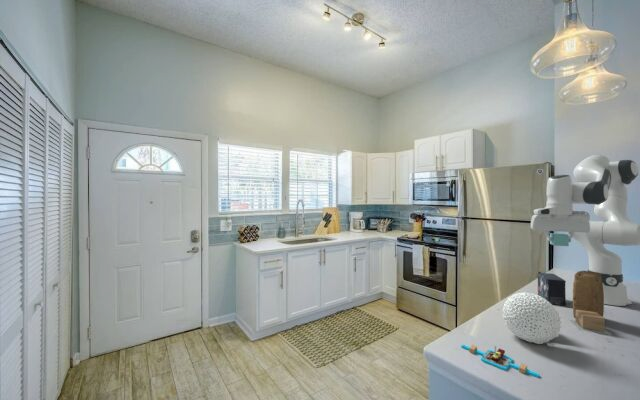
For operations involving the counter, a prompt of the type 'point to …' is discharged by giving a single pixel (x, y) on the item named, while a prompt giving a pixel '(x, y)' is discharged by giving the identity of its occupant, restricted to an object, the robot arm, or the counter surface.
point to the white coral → (531, 317)
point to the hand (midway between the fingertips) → (558, 241)
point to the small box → (552, 288)
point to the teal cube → (559, 239)
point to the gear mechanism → (499, 359)
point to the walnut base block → (590, 320)
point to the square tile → (589, 330)
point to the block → (588, 292)
